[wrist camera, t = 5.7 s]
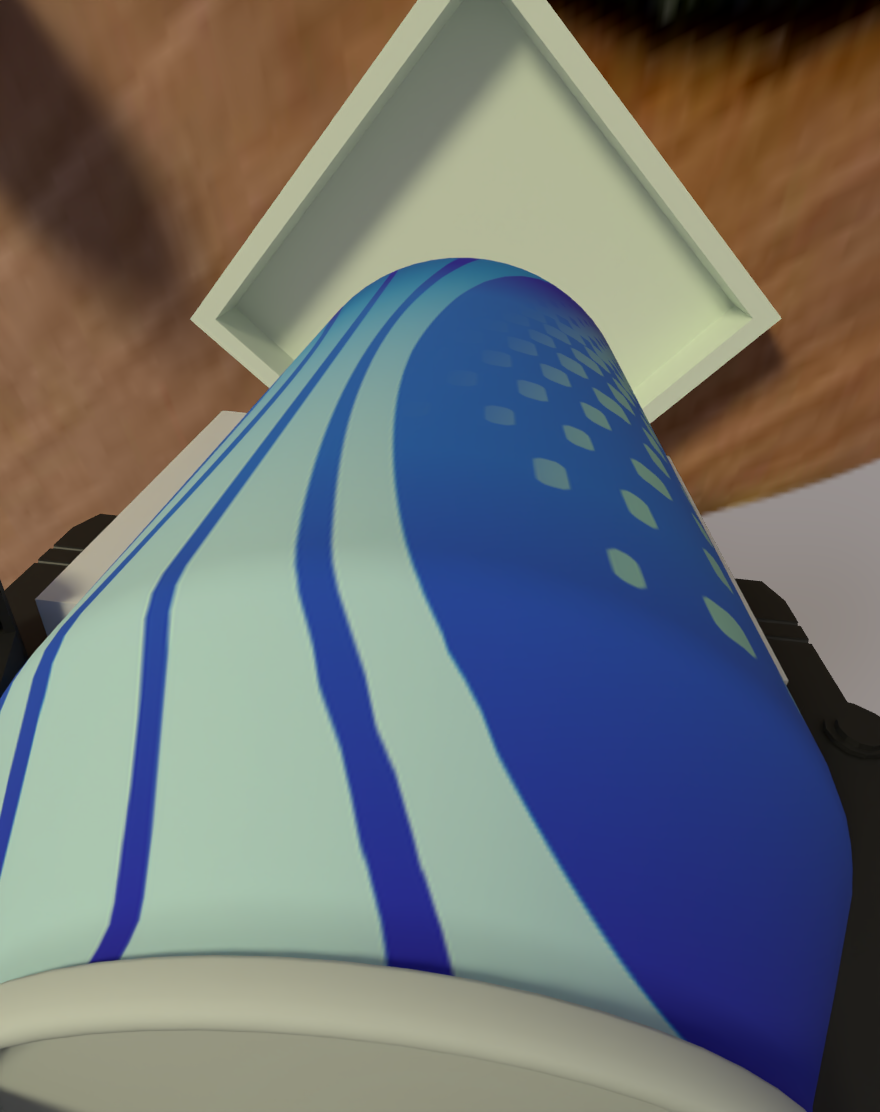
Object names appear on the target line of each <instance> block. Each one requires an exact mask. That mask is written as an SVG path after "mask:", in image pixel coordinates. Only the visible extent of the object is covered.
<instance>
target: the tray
mask: <svg viewBox="0 0 880 1112" xmlns="http://www.w3.org/2000/svg"><path fill="white" fill-rule="evenodd" d="M444 258H477V259H487V260H492V261H497V262H502V263H506V264H509V265H512V266H515V267H518V268H521V269H524V270H526V271H528V272H531V273H533V274H535V275H537V276H539V277H541V278H543V279H544V280H546V281H548V282H550V283H551V284H553V285H555V286H556V287H557V288H559V289H560V290H562V291H563V292H564V293H566V294H567V295H568V296H569V297H571V298H572V299H573V300H574V301H575V302H576V303H577V304H578V305H579V306H580V307H582V309H583V310H584V311H585V312H586V313H587V314H588V315H589V317H590V318H591V319H592V320H593V321H594V323H595V324H596V326H597V327H598V328H599V330H600V331H601V333H602V334H603V336H604V338H605V339H606V341H607V343H608V345H609V347H610V349H611V350H612V352H613V354H614V356H615V358H616V360H617V362H618V364H619V366H620V368H621V370H622V371H623V373H624V375H625V377H626V379H627V381H628V383H629V385H630V387H631V389H632V391H633V393H634V395H635V396H636V398H637V400H638V402H639V404H640V406H641V408H642V410H643V412H644V414H645V416H646V418H647V419H648V421H649V423H651V422H653V421H654V420H655V419H656V418H658V417H659V416H660V415H661V414H663V413H664V412H665V411H666V410H668V409H669V408H670V407H671V406H673V405H674V404H675V403H676V402H678V401H679V400H680V399H681V398H683V397H684V396H685V395H686V394H688V393H689V392H690V391H691V390H693V389H694V388H695V387H696V386H698V385H699V384H700V383H701V382H703V381H704V380H705V379H706V378H708V377H709V376H710V375H711V374H713V373H714V372H715V371H716V370H718V369H719V368H720V367H721V366H723V365H724V364H725V363H726V362H728V361H729V360H730V359H731V358H733V357H734V356H735V355H736V354H738V353H739V352H740V351H741V350H743V349H744V348H745V347H746V346H748V345H749V344H750V343H751V342H753V341H754V340H755V339H756V338H758V337H759V336H760V335H761V334H763V333H764V332H765V331H766V330H768V329H769V328H770V327H772V326H773V325H774V324H775V323H777V322H778V321H779V320H780V319H782V318H781V317H780V316H779V314H778V313H777V312H776V310H775V309H774V308H773V306H772V305H771V303H770V302H769V301H768V299H767V298H766V297H765V295H764V294H763V293H762V291H761V290H760V289H759V287H758V286H757V285H756V283H755V282H754V280H753V279H752V278H751V276H750V275H749V274H748V272H747V271H746V270H745V268H744V267H743V266H742V264H741V263H740V262H739V260H738V259H737V257H736V256H735V255H734V253H733V252H732V251H731V249H730V248H729V247H728V245H727V244H726V243H725V241H724V240H723V239H722V237H721V236H720V234H719V233H718V232H717V230H716V229H715V228H714V226H713V225H712V224H711V222H710V221H709V220H708V218H707V217H706V216H705V214H704V213H703V211H702V210H701V209H700V207H699V206H698V205H697V203H696V202H695V201H694V199H693V198H692V197H691V195H690V194H689V193H688V191H687V190H686V188H685V187H684V186H683V184H682V183H681V182H680V180H679V179H678V178H677V176H676V175H675V174H674V172H673V171H672V170H671V168H670V167H669V165H668V164H667V163H666V161H665V160H664V159H663V157H662V156H661V155H660V153H659V152H658V151H657V149H656V148H655V147H654V145H653V144H652V142H651V141H650V140H649V138H648V137H647V136H646V134H645V133H644V132H643V130H642V129H641V128H640V126H639V125H638V124H637V122H636V121H635V119H634V118H633V117H632V115H631V114H630V113H629V111H628V110H627V109H626V107H625V106H624V105H623V103H622V102H621V101H620V99H619V98H618V96H617V95H616V94H615V92H614V91H613V90H612V88H611V87H610V86H609V84H608V83H607V82H606V80H605V79H604V78H603V76H602V75H601V73H600V72H599V71H598V69H597V68H596V67H595V65H594V64H593V63H592V61H591V60H590V59H589V57H588V56H587V55H586V53H585V52H584V50H583V49H582V48H581V46H580V45H579V44H578V42H577V41H576V40H575V38H574V37H573V36H572V34H571V33H570V32H569V30H568V29H567V27H566V26H565V25H564V23H563V22H562V21H561V19H560V18H559V17H558V15H557V14H556V13H555V11H554V10H553V9H552V7H551V6H550V4H549V3H548V2H547V0H418V1H417V2H416V4H415V5H414V6H413V8H412V9H411V11H410V12H409V13H408V15H407V16H406V18H405V19H404V20H403V22H402V23H401V25H400V26H399V27H398V29H397V30H396V32H395V33H394V34H393V36H392V37H391V39H390V40H389V41H388V43H387V44H386V46H385V47H384V48H383V50H382V51H381V53H380V54H379V55H378V57H377V58H376V60H375V61H374V62H373V64H372V65H371V67H370V68H369V69H368V71H367V72H366V74H365V75H364V76H363V78H362V79H361V81H360V82H359V83H358V85H357V86H356V88H355V89H354V90H353V92H352V93H351V95H350V96H349V97H348V99H347V100H346V102H345V103H344V104H343V106H342V107H341V109H340V110H339V111H338V113H337V114H336V116H335V117H334V118H333V120H332V121H331V123H330V124H329V125H328V127H327V128H326V130H325V131H324V132H323V134H322V135H321V137H320V138H319V139H318V141H317V142H316V144H315V145H314V146H313V148H312V149H311V151H310V152H309V153H308V155H307V156H306V158H305V159H304V160H303V162H302V163H301V165H300V166H299V167H298V169H297V170H296V172H295V173H294V174H293V176H292V177H291V179H290V180H289V181H288V183H287V184H286V186H285V187H284V188H283V190H282V191H281V193H280V194H279V195H278V197H277V198H276V200H275V201H274V202H273V204H272V205H271V207H270V208H269V209H268V211H267V212H266V214H265V215H264V216H263V218H262V219H261V221H260V222H259V223H258V225H257V226H256V228H255V229H254V230H253V232H252V233H251V235H250V236H249V238H248V239H247V240H246V242H245V243H244V245H243V246H242V247H241V249H240V250H239V252H238V253H237V254H236V256H235V257H234V259H233V260H232V261H231V263H230V264H229V266H228V267H227V268H226V270H225V271H224V273H223V274H222V275H221V277H220V278H219V280H218V281H217V282H216V284H215V285H214V287H213V288H212V289H211V291H210V292H209V294H208V295H207V296H206V298H205V299H204V301H203V302H202V303H201V305H200V306H199V308H198V309H197V310H196V312H195V313H194V315H193V316H192V317H191V319H190V320H191V321H192V322H194V323H195V324H196V325H197V326H198V327H199V328H201V329H202V330H203V331H204V332H205V333H206V334H207V335H209V336H210V337H211V338H212V339H213V340H214V341H216V342H217V343H218V344H219V345H220V346H221V347H222V348H224V349H225V350H226V351H227V352H228V353H229V354H231V355H232V356H233V357H234V358H235V359H236V360H237V361H239V362H240V363H241V364H242V365H243V366H244V367H246V368H247V369H248V370H249V371H250V372H251V373H252V374H254V375H255V376H256V377H257V378H258V379H259V380H261V381H262V382H263V383H264V384H265V385H266V386H267V387H269V388H270V387H271V386H272V385H273V384H274V383H275V382H276V380H277V379H278V378H279V377H280V376H281V375H282V374H283V373H284V371H285V370H286V369H287V368H288V367H289V366H290V365H291V364H292V362H293V361H294V360H295V359H296V358H297V357H298V356H299V355H300V353H301V352H302V351H303V350H304V349H305V348H306V347H307V346H308V345H309V343H310V342H311V341H312V340H313V339H314V338H315V337H316V336H317V334H318V333H319V332H320V331H321V330H322V329H323V328H324V327H325V325H326V324H327V323H328V322H329V321H330V320H331V319H332V318H333V317H334V315H335V314H336V313H337V312H338V311H339V310H340V309H341V308H342V307H343V306H344V305H345V304H346V303H347V302H348V301H349V300H350V299H351V298H352V297H353V296H355V295H356V294H357V293H359V292H360V291H361V290H362V289H364V288H365V287H366V286H368V285H370V284H371V283H373V282H375V281H376V280H378V279H379V278H381V277H383V276H385V275H387V274H390V273H392V272H394V271H396V270H398V269H401V268H404V267H407V266H410V265H413V264H417V263H421V262H425V261H430V260H436V259H444Z"/></svg>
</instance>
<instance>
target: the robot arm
mask: <svg viewBox="0 0 880 1112" xmlns="http://www.w3.org/2000/svg"><path fill="white" fill-rule="evenodd" d="M246 414H247V413H241V412H231V411H222V412H221V413H220V414H219V415H218V416H217V417H216V418H215V419H214V420H213V421H212V422H211V423H210V424H209V425H208V426H207V427H206V428H205V429H204V430H203V431H202V432H201V433H200V434H199V435H198V436H197V437H196V438H195V439H194V440H193V441H192V442H191V443H190V444H189V445H188V446H187V447H186V448H185V449H184V450H183V451H182V452H181V453H180V454H179V455H178V456H177V457H176V458H175V459H174V460H173V461H172V462H171V463H170V464H169V465H168V466H167V467H166V468H165V469H164V470H163V471H162V472H161V473H160V474H159V475H158V476H157V477H156V478H155V479H154V480H153V481H152V482H151V483H150V484H149V485H148V486H147V487H146V488H145V489H144V490H143V491H142V492H141V493H140V494H139V495H138V496H137V497H136V498H135V499H134V500H133V501H132V502H131V503H130V504H129V505H128V506H127V507H126V508H125V509H124V510H123V511H122V512H121V513H120V514H119V515H118V516H115V515H106V514H99V515H97V516H95V517H93V518H91V519H89V520H87V521H85V522H83V523H81V524H79V525H77V526H75V527H73V528H72V529H70V530H69V531H68V532H67V533H66V534H65V535H64V536H63V537H62V538H61V539H60V540H59V541H58V542H56V543H55V544H54V548H53V549H51V548H50V549H49V550H48V551H47V552H46V553H45V554H44V555H42V556H41V557H40V558H39V559H38V563H34V564H33V565H32V566H31V567H29V568H28V569H27V570H26V571H25V572H24V573H23V574H22V575H21V576H20V577H19V578H18V579H17V580H15V581H14V582H13V583H12V584H11V585H10V586H9V587H8V588H7V589H6V590H5V591H4V589H3V586H2V583H1V581H0V698H1V697H2V695H3V693H4V692H5V690H6V689H7V687H8V686H9V684H10V683H11V681H12V680H13V678H14V677H15V675H16V674H17V673H18V672H19V670H20V669H21V668H22V667H23V665H24V664H25V663H26V662H27V661H28V659H29V658H30V657H31V656H32V654H33V653H34V652H35V651H36V649H37V648H38V647H39V646H40V645H41V644H42V643H43V642H44V640H45V639H46V638H47V637H48V636H49V635H50V634H51V633H52V632H53V630H54V629H55V628H56V627H57V626H58V625H59V624H60V623H61V621H62V620H63V619H64V618H65V617H66V616H67V615H68V614H69V612H70V611H71V610H72V609H73V608H74V607H75V606H76V605H77V603H78V602H79V601H80V600H81V599H82V598H83V597H84V596H85V595H86V593H87V592H88V591H89V590H90V589H91V588H92V587H93V586H94V584H95V583H96V582H97V581H98V580H99V579H100V578H101V577H102V575H103V574H104V573H105V572H106V571H107V570H108V569H109V568H110V566H111V565H112V564H113V563H114V562H115V561H116V560H117V559H118V558H119V556H120V555H121V554H122V553H123V552H124V551H125V550H126V549H127V547H128V546H129V545H130V544H131V543H132V542H133V541H134V540H135V538H136V537H137V536H138V535H139V534H140V533H141V532H142V531H143V529H144V528H145V527H146V526H147V525H148V524H149V523H150V522H151V521H152V519H153V518H154V517H155V516H156V515H157V514H158V513H159V512H160V510H161V509H162V508H163V507H164V506H165V505H166V504H167V503H168V501H169V500H170V499H171V498H172V497H173V496H174V495H175V494H176V493H177V491H178V490H179V489H180V488H181V487H182V486H183V485H184V484H185V482H186V481H187V480H188V479H189V478H190V477H191V476H192V475H193V473H194V472H195V471H196V470H197V469H198V468H199V467H200V466H201V464H202V463H203V462H204V461H205V460H206V459H207V458H208V457H209V456H210V454H211V453H212V452H213V451H214V450H215V449H216V448H217V447H218V445H219V444H220V443H221V442H222V441H223V440H224V439H225V438H226V436H227V435H228V434H229V433H230V432H231V431H232V430H233V429H234V427H235V426H236V425H237V424H238V423H239V422H240V421H241V420H242V419H243V417H244V416H245V415H246ZM667 458H668V460H669V462H670V464H671V465H672V467H673V469H674V471H675V473H676V475H677V477H678V479H679V481H680V483H681V485H682V487H683V489H684V490H685V492H686V494H687V496H688V498H689V500H690V502H691V504H692V506H693V508H694V510H695V512H696V513H697V515H698V517H699V519H700V521H701V523H702V525H703V527H704V529H705V531H706V533H707V535H708V536H709V538H710V540H711V542H712V544H713V546H714V548H715V550H716V552H717V554H718V556H719V558H720V560H721V561H722V563H723V565H724V567H725V569H726V571H727V573H728V575H729V577H730V579H731V581H732V583H733V584H734V586H735V588H736V590H737V592H738V594H739V596H740V598H741V600H742V602H743V604H744V606H745V607H746V609H747V611H748V613H749V615H750V617H751V619H752V621H753V623H754V625H755V627H756V629H757V630H758V632H759V634H760V636H761V638H762V640H763V642H764V644H765V646H766V648H767V650H768V652H769V654H770V655H771V657H772V659H773V661H774V663H775V665H776V667H777V669H778V671H779V673H780V675H781V677H782V678H783V680H784V682H785V684H786V686H787V688H788V690H789V692H790V694H791V696H792V698H793V700H794V701H795V703H796V705H797V707H798V709H799V711H800V713H801V715H802V717H803V719H804V721H805V723H806V725H807V726H808V728H809V730H810V732H811V734H812V736H813V738H814V740H815V742H816V744H817V746H818V748H819V749H820V751H821V753H822V755H823V757H824V759H825V761H826V763H827V765H828V768H829V771H830V773H831V776H832V779H833V781H834V784H835V787H836V790H837V792H838V795H839V798H840V801H841V804H842V806H843V809H844V812H845V815H846V819H847V825H848V830H849V836H850V842H851V852H852V867H853V873H852V898H851V904H850V910H849V915H848V921H847V927H846V932H845V938H844V944H843V949H842V955H841V961H840V966H839V972H838V978H837V983H836V989H835V994H834V1000H833V1005H832V1010H831V1015H830V1020H829V1025H828V1030H827V1036H826V1041H825V1046H824V1051H823V1056H822V1061H821V1066H820V1071H819V1076H818V1082H817V1087H816V1092H815V1097H814V1102H813V1112H880V717H879V716H878V715H876V714H875V713H872V712H870V711H868V710H866V709H864V708H862V707H859V706H857V705H855V704H852V703H848V702H847V701H846V699H845V698H844V696H843V694H842V693H841V691H840V689H839V688H838V686H837V685H836V683H835V682H834V680H833V678H832V676H831V675H830V673H829V672H828V670H827V669H826V667H825V665H824V664H823V662H822V660H821V659H820V657H819V655H818V654H817V652H816V650H815V649H814V647H813V646H812V644H808V638H807V636H806V634H805V633H804V631H803V629H802V628H801V626H798V624H797V623H798V621H797V620H796V618H795V616H794V615H793V613H792V612H791V610H790V608H789V607H788V605H787V603H786V602H785V601H784V600H783V599H782V598H781V597H780V596H779V595H777V594H776V593H775V592H774V591H773V590H771V589H770V588H769V587H768V586H767V585H765V584H764V583H763V582H762V581H753V580H743V579H734V577H733V575H732V574H731V571H730V570H729V568H728V566H727V564H726V562H725V560H724V558H723V556H722V554H721V553H720V551H719V549H718V547H717V545H716V544H715V541H714V540H713V538H712V536H711V534H710V532H709V530H708V528H707V526H706V524H705V522H704V521H703V519H702V517H701V515H700V513H699V511H698V509H697V507H696V506H695V504H694V502H693V500H692V498H691V496H690V494H689V492H688V491H687V489H686V487H685V485H684V483H683V481H682V479H681V477H680V475H679V474H678V472H677V470H676V468H675V466H674V464H673V462H672V460H671V459H670V457H669V456H667Z"/></svg>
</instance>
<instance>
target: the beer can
mask: <svg viewBox="0 0 880 1112" xmlns="http://www.w3.org/2000/svg"><path fill="white" fill-rule="evenodd" d="M852 873H853V867H852V852H851V842H850V836H849V830H848V825H847V819H846V815H845V812H844V809H843V806H842V804H841V801H840V798H839V795H838V792H837V790H836V787H835V784H834V781H833V779H832V776H831V773H830V771H829V768H828V765H827V763H826V761H825V759H824V757H823V755H822V753H821V751H820V749H819V748H818V746H817V744H816V742H815V740H814V738H813V736H812V734H811V732H810V730H809V728H808V726H807V725H806V723H805V721H804V719H803V717H802V715H801V713H800V711H799V709H798V707H797V705H796V703H795V701H794V700H793V698H792V696H791V694H790V692H789V690H788V688H787V686H786V684H785V682H784V680H783V678H782V677H781V675H780V673H779V671H778V669H777V667H776V665H775V663H774V661H773V659H772V657H771V655H770V654H769V652H768V650H767V648H766V646H765V644H764V642H763V640H762V638H761V636H760V634H759V632H758V630H757V629H756V627H755V625H754V623H753V621H752V619H751V617H750V615H749V613H748V611H747V609H746V607H745V606H744V604H743V602H742V600H741V598H740V596H739V594H738V592H737V590H736V588H735V586H734V584H733V583H732V581H731V579H730V577H729V575H728V573H727V571H726V569H725V567H724V565H723V563H722V561H721V560H720V558H719V556H718V554H717V552H716V550H715V548H714V546H713V544H712V542H711V540H710V538H709V536H708V535H707V533H706V531H705V529H704V527H703V525H702V523H701V521H700V519H699V517H698V515H697V513H696V512H695V510H694V508H693V506H692V504H691V502H690V500H689V498H688V496H687V494H686V492H685V490H684V489H683V487H682V485H681V483H680V481H679V479H678V477H677V475H676V473H675V471H674V469H673V467H672V465H671V464H670V462H669V460H668V458H667V456H666V454H665V452H664V450H663V448H662V446H661V444H660V442H659V441H658V439H657V437H656V435H655V433H654V431H653V429H652V427H651V425H650V423H649V421H648V419H647V418H646V416H645V414H644V412H643V410H642V408H641V406H640V404H639V402H638V400H637V398H636V396H635V395H634V393H633V391H632V389H631V387H630V385H629V383H628V381H627V379H626V377H625V375H624V373H623V371H622V370H621V368H620V366H619V364H618V362H617V360H616V358H615V356H614V354H613V352H612V350H611V349H610V347H609V345H608V343H607V341H606V339H605V338H604V336H603V334H602V333H601V331H600V330H599V328H598V327H597V326H596V324H595V323H594V321H593V320H592V319H591V318H590V317H589V315H588V314H587V313H586V312H585V311H584V310H583V309H582V307H580V306H579V305H578V304H577V303H576V302H575V301H574V300H573V299H572V298H571V297H569V296H568V295H567V294H566V293H564V292H563V291H562V290H560V289H559V288H557V287H556V286H555V285H553V284H551V283H550V282H548V281H546V280H544V279H543V278H541V277H539V276H537V275H535V274H533V273H531V272H528V271H526V270H524V269H521V268H518V267H515V266H512V265H509V264H506V263H502V262H497V261H492V260H487V259H477V258H444V259H436V260H430V261H425V262H421V263H417V264H413V265H410V266H407V267H404V268H401V269H398V270H396V271H394V272H392V273H390V274H387V275H385V276H383V277H381V278H379V279H378V280H376V281H375V282H373V283H371V284H370V285H368V286H366V287H365V288H364V289H362V290H361V291H360V292H359V293H357V294H356V295H355V296H353V297H352V298H351V299H350V300H349V301H348V302H347V303H346V304H345V305H344V306H343V307H342V308H341V309H340V310H339V311H338V312H337V313H336V314H335V315H334V317H333V318H332V319H331V320H330V321H329V322H328V323H327V324H326V325H325V327H324V328H323V329H322V330H321V331H320V332H319V333H318V334H317V336H316V337H315V338H314V339H313V340H312V341H311V342H310V343H309V345H308V346H307V347H306V348H305V349H304V350H303V351H302V352H301V353H300V355H299V356H298V357H297V358H296V359H295V360H294V361H293V362H292V364H291V365H290V366H289V367H288V368H287V369H286V370H285V371H284V373H283V374H282V375H281V376H280V377H279V378H278V379H277V380H276V382H275V383H274V384H273V385H272V386H271V387H270V388H269V389H268V390H267V392H266V393H265V394H264V395H263V396H262V397H261V398H260V399H259V401H258V402H257V403H256V404H255V405H254V406H253V407H252V408H251V410H250V411H249V412H248V413H247V414H246V415H245V416H244V417H243V419H242V420H241V421H240V422H239V423H238V424H237V425H236V426H235V427H234V429H233V430H232V431H231V432H230V433H229V434H228V435H227V436H226V438H225V439H224V440H223V441H222V442H221V443H220V444H219V445H218V447H217V448H216V449H215V450H214V451H213V452H212V453H211V454H210V456H209V457H208V458H207V459H206V460H205V461H204V462H203V463H202V464H201V466H200V467H199V468H198V469H197V470H196V471H195V472H194V473H193V475H192V476H191V477H190V478H189V479H188V480H187V481H186V482H185V484H184V485H183V486H182V487H181V488H180V489H179V490H178V491H177V493H176V494H175V495H174V496H173V497H172V498H171V499H170V500H169V501H168V503H167V504H166V505H165V506H164V507H163V508H162V509H161V510H160V512H159V513H158V514H157V515H156V516H155V517H154V518H153V519H152V521H151V522H150V523H149V524H148V525H147V526H146V527H145V528H144V529H143V531H142V532H141V533H140V534H139V535H138V536H137V537H136V538H135V540H134V541H133V542H132V543H131V544H130V545H129V546H128V547H127V549H126V550H125V551H124V552H123V553H122V554H121V555H120V556H119V558H118V559H117V560H116V561H115V562H114V563H113V564H112V565H111V566H110V568H109V569H108V570H107V571H106V572H105V573H104V574H103V575H102V577H101V578H100V579H99V580H98V581H97V582H96V583H95V584H94V586H93V587H92V588H91V589H90V590H89V591H88V592H87V593H86V595H85V596H84V597H83V598H82V599H81V600H80V601H79V602H78V603H77V605H76V606H75V607H74V608H73V609H72V610H71V611H70V612H69V614H68V615H67V616H66V617H65V618H64V619H63V620H62V621H61V623H60V624H59V625H58V626H57V627H56V628H55V629H54V630H53V632H52V633H51V634H50V635H49V636H48V637H47V638H46V639H45V640H44V642H43V643H42V644H41V645H40V646H39V647H38V648H37V649H36V651H35V652H34V653H33V654H32V656H31V657H30V658H29V659H28V661H27V662H26V663H25V664H24V665H23V667H22V668H21V669H20V670H19V672H18V673H17V674H16V675H15V677H14V678H13V680H12V681H11V683H10V684H9V686H8V687H7V689H6V690H5V692H4V693H3V695H2V697H1V698H0V1112H813V1102H814V1097H815V1092H816V1087H817V1082H818V1076H819V1071H820V1066H821V1061H822V1056H823V1051H824V1046H825V1041H826V1036H827V1030H828V1025H829V1020H830V1015H831V1010H832V1005H833V1000H834V994H835V989H836V983H837V978H838V972H839V966H840V961H841V955H842V949H843V944H844V938H845V932H846V927H847V921H848V915H849V910H850V904H851V898H852Z"/></svg>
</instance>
